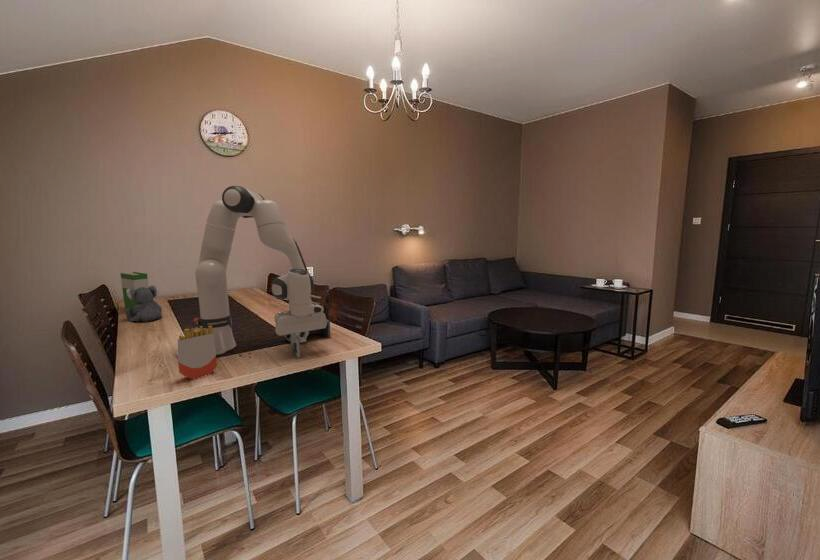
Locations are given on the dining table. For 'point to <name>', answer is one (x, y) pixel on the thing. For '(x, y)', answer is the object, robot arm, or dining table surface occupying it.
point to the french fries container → (197, 353)
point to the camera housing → (314, 332)
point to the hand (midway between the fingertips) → (302, 342)
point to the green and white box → (132, 286)
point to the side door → (295, 344)
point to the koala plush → (144, 304)
